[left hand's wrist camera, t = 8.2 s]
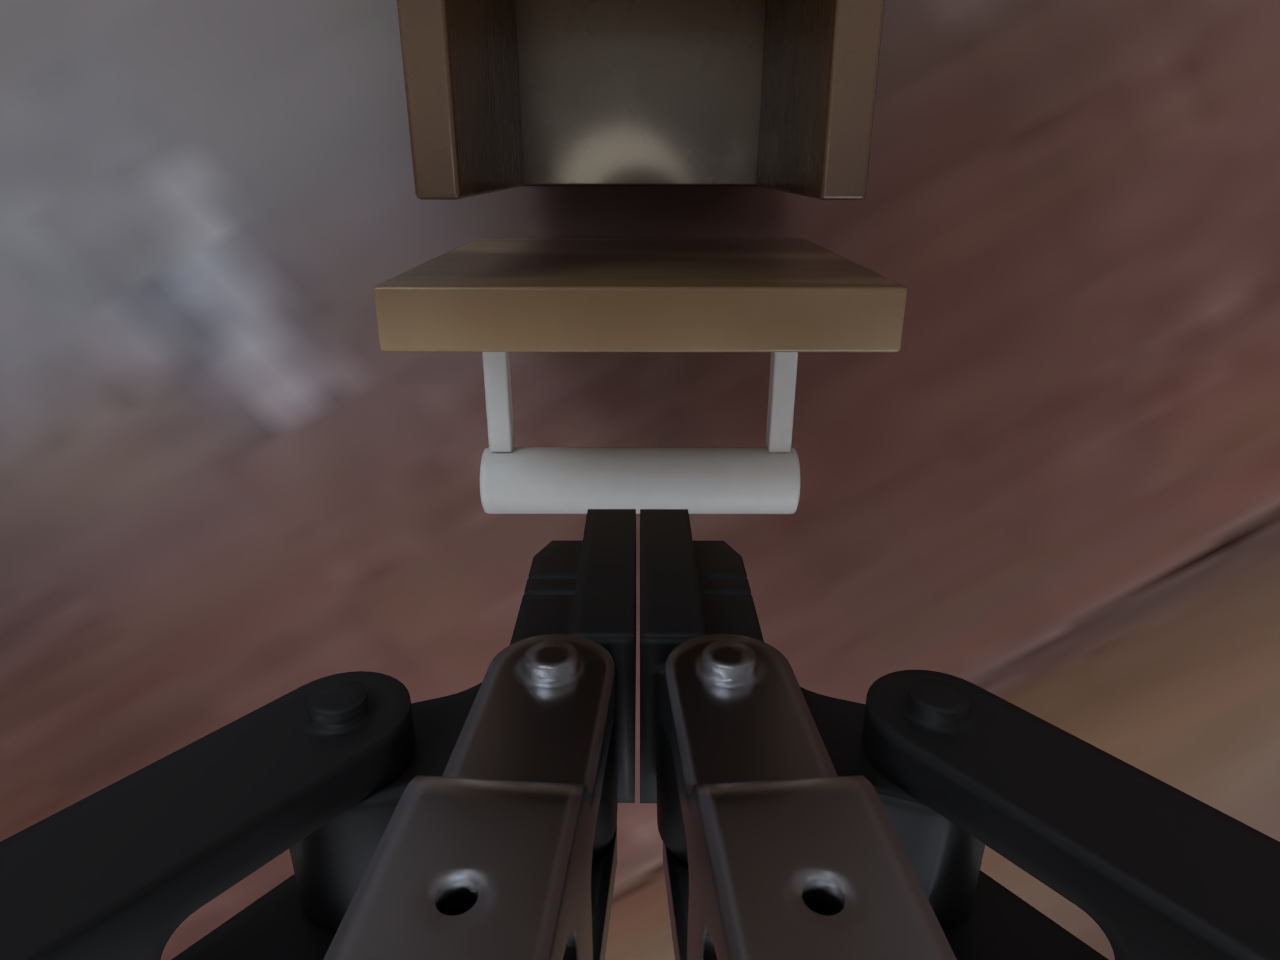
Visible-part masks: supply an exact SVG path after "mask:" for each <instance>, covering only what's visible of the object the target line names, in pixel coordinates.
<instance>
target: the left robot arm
mask: <svg viewBox="0 0 1280 960" xmlns="http://www.w3.org/2000/svg"><path fill="white" fill-rule="evenodd" d="M635 695H636V509H588V511H587V518H586V524H585V531H584V537H583V541H551V542H550V543H549V544H548V545H547V546H546V547H545V548H543V549H542V550H541V551H540V552H539V553H538V554H536V555H535V556H534V558H533V562H532V565H531V569H530V573H529V579H528V580H527V584H526V588H525V594H524V595H523V599H522V602H521V606H520V610H519V613H518V617H517V621H516V625H515V628H514V632H513V636H512V639H511V643H510V646H508V647H506V648H505V649H503V650H502V651H501V652H500V653H498V654H497V655H496V657H495V658H494V659H493V660H492V662H491V664H490V665H489V668H488V670H487V672H486V675H485V677H484V679H483V682H482V683H480V684H478V685H476V686H474V687H472V688H470V689H468V690H465V691H462V692H460V693H457V694H453V695H449V696H445V697H441V698H436V699H431V700H427V701H422V702H417V703H412V704H411V701H410V695H409V692H408V690H407V688H406V687H405V686H404V685H403V684H402V683H401V682H400V681H398V680H397V679H395V678H393V677H391V676H388V675H385V674H381V673H375V672H361V671H359V672H346V673H340V674H335V675H331V676H327V677H324V678H321V679H318V680H315V681H312V682H310V683H308V684H306V685H304V686H302V687H300V688H298V689H296V690H294V691H292V692H290V693H288V694H286V695H284V696H282V697H280V698H278V699H276V700H274V701H272V702H271V703H269V704H267V705H265V706H263V707H261V708H259V709H257V710H255V711H253V712H251V713H249V714H247V715H245V716H243V717H241V718H240V719H238V720H236V721H234V722H232V723H230V724H228V725H226V726H224V727H222V728H220V729H218V730H216V731H214V732H212V733H211V734H209V735H207V736H205V737H203V738H201V739H199V740H197V741H195V742H193V743H191V744H189V745H187V746H185V747H183V748H181V749H180V750H178V751H176V752H174V753H172V754H170V755H168V756H166V757H164V758H162V759H160V760H158V761H156V762H154V763H152V764H150V765H149V766H147V767H145V768H143V769H141V770H139V771H137V772H135V773H133V774H131V775H129V776H127V777H125V778H123V779H121V780H120V781H118V782H116V783H114V784H112V785H110V786H108V787H106V788H104V789H102V790H100V791H98V792H96V793H94V794H92V795H90V796H89V797H87V798H85V799H83V800H81V801H79V802H77V803H75V804H73V805H71V806H69V807H67V808H65V809H63V810H61V811H59V812H58V813H56V814H54V815H52V816H50V817H48V818H46V819H44V820H42V821H40V822H38V823H36V824H34V825H32V826H30V827H29V828H27V829H25V830H23V831H21V832H19V833H17V834H15V835H13V836H11V837H9V838H7V839H5V840H3V841H1V842H0V960H160V959H161V955H162V952H163V950H164V947H165V945H166V943H167V941H168V940H169V938H170V936H171V935H172V934H173V932H174V931H175V930H176V928H177V927H178V926H179V925H180V924H181V923H182V922H183V921H184V920H185V919H186V918H187V917H188V916H189V915H191V914H192V913H193V912H195V911H196V910H197V909H199V908H200V907H202V906H203V905H205V904H206V903H208V902H209V901H211V900H212V899H214V898H215V897H217V896H218V895H220V894H221V893H223V892H224V891H226V890H227V889H229V888H230V887H232V886H233V885H235V884H236V883H238V882H239V881H241V880H242V879H244V878H245V877H247V876H248V875H250V874H251V873H253V872H254V871H256V870H257V869H259V868H260V867H262V866H263V865H265V864H266V863H268V862H269V861H271V860H272V859H274V858H275V857H277V856H278V855H280V854H281V853H283V852H284V851H286V850H287V849H290V854H291V859H292V863H293V868H294V873H295V874H294V875H292V876H291V877H289V878H288V879H287V880H285V881H284V882H282V883H281V884H279V885H278V886H277V887H275V888H274V889H272V890H271V891H269V892H268V893H266V894H265V895H264V896H262V897H261V898H259V899H258V900H256V901H255V902H254V903H252V904H251V905H249V906H248V907H246V908H245V909H244V910H242V911H241V912H239V913H238V914H236V915H235V916H233V917H232V918H231V919H229V920H228V921H226V922H225V923H223V924H222V925H221V926H219V927H218V928H216V929H215V930H213V931H212V932H211V933H209V934H208V935H206V936H205V937H203V938H202V939H200V940H199V941H198V942H196V943H195V944H193V945H192V946H190V947H189V948H188V949H186V950H185V951H183V952H182V953H180V954H179V955H177V956H176V957H175V958H173V959H172V960H605V954H606V946H607V938H608V930H609V922H610V914H611V906H612V898H613V890H614V882H615V874H616V866H617V803H635ZM640 803H657V822H658V830H659V833H660V836H661V838H662V840H663V866H664V874H665V882H666V890H667V898H668V906H669V914H670V922H671V930H672V938H673V946H674V954H675V960H1108V959H1107V958H1105V957H1104V956H1102V955H1101V954H1100V953H1098V952H1097V951H1095V950H1094V949H1092V948H1091V947H1090V946H1088V945H1087V944H1085V943H1084V942H1082V941H1081V940H1080V939H1078V938H1077V937H1075V936H1074V935H1072V934H1071V933H1069V932H1068V931H1067V930H1065V929H1064V928H1062V927H1061V926H1059V925H1058V924H1057V923H1055V922H1054V921H1052V920H1051V919H1049V918H1048V917H1046V916H1045V915H1044V914H1042V913H1041V912H1039V911H1038V910H1036V909H1035V908H1034V907H1032V906H1031V905H1029V904H1028V903H1026V902H1025V901H1024V900H1022V899H1021V898H1019V897H1018V896H1016V895H1015V894H1013V893H1012V892H1011V891H1009V890H1008V889H1006V888H1005V887H1003V886H1002V885H1001V884H999V883H998V882H996V881H995V880H993V879H992V878H991V877H989V876H988V875H986V874H985V873H983V872H982V871H980V867H981V862H982V857H983V852H984V847H985V845H987V846H988V847H990V848H991V849H993V850H994V851H996V852H997V853H999V854H1000V855H1002V856H1003V857H1005V858H1006V859H1008V860H1009V861H1011V862H1012V863H1014V864H1015V865H1017V866H1018V867H1020V868H1021V869H1023V870H1024V871H1026V872H1027V873H1029V874H1030V875H1032V876H1033V877H1035V878H1036V879H1038V880H1039V881H1041V882H1042V883H1044V884H1045V885H1047V886H1048V887H1050V888H1051V889H1053V890H1054V891H1056V892H1057V893H1059V894H1060V895H1062V896H1063V897H1065V898H1066V899H1068V900H1069V901H1071V902H1072V903H1074V904H1075V905H1077V906H1078V907H1079V908H1081V909H1082V910H1083V911H1085V912H1086V913H1087V914H1088V915H1089V916H1090V917H1091V918H1093V920H1094V921H1095V922H1096V923H1097V924H1098V925H1099V926H1100V928H1101V929H1102V930H1103V932H1104V933H1105V935H1106V936H1107V938H1108V940H1109V942H1110V944H1111V946H1112V949H1113V952H1114V956H1115V960H1280V842H1279V841H1277V840H1275V839H1273V838H1271V837H1269V836H1267V835H1265V834H1263V833H1261V832H1259V831H1257V830H1255V829H1253V828H1251V827H1250V826H1248V825H1246V824H1244V823H1242V822H1240V821H1238V820H1236V819H1234V818H1232V817H1230V816H1228V815H1226V814H1224V813H1222V812H1220V811H1219V810H1217V809H1215V808H1213V807H1211V806H1209V805H1207V804H1205V803H1203V802H1201V801H1199V800H1197V799H1195V798H1193V797H1191V796H1189V795H1188V794H1186V793H1184V792H1182V791H1180V790H1178V789H1176V788H1174V787H1172V786H1170V785H1168V784H1166V783H1164V782H1162V781H1160V780H1159V779H1157V778H1155V777H1153V776H1151V775H1149V774H1147V773H1145V772H1143V771H1141V770H1139V769H1137V768H1135V767H1133V766H1131V765H1129V764H1128V763H1126V762H1124V761H1122V760H1120V759H1118V758H1116V757H1114V756H1112V755H1110V754H1108V753H1106V752H1104V751H1102V750H1100V749H1098V748H1097V747H1095V746H1093V745H1091V744H1089V743H1087V742H1085V741H1083V740H1081V739H1079V738H1077V737H1075V736H1073V735H1071V734H1069V733H1068V732H1066V731H1064V730H1062V729H1060V728H1058V727H1056V726H1054V725H1052V724H1050V723H1048V722H1046V721H1044V720H1042V719H1040V718H1038V717H1037V716H1035V715H1033V714H1031V713H1029V712H1027V711H1025V710H1023V709H1021V708H1019V707H1017V706H1015V705H1013V704H1011V703H1009V702H1007V701H1006V700H1004V699H1002V698H1000V697H998V696H996V695H994V694H992V693H990V692H988V691H986V690H984V689H982V688H980V687H978V686H977V685H975V684H972V683H970V682H968V681H966V680H964V679H961V678H958V677H955V676H952V675H948V674H944V673H941V672H934V671H927V670H904V671H897V672H894V673H890V674H887V675H885V676H883V677H881V678H879V679H878V680H876V681H875V682H874V683H873V684H872V685H871V687H870V688H869V691H868V693H867V699H866V705H865V704H860V703H856V702H851V701H846V700H841V699H837V698H832V697H828V696H824V695H820V694H817V693H814V692H811V691H808V690H806V689H804V688H801V687H800V686H799V684H798V682H797V679H796V677H795V675H794V672H793V670H792V668H791V665H790V664H789V662H788V660H787V659H786V658H785V657H784V655H783V654H782V653H780V652H779V651H778V650H777V649H775V648H774V647H772V646H770V645H769V644H767V643H764V641H763V637H762V633H761V629H760V625H759V621H758V617H757V614H756V610H755V606H754V602H753V598H752V595H751V590H750V587H749V583H748V580H747V575H746V571H745V567H744V563H743V559H742V557H741V556H740V555H739V554H738V553H737V552H736V551H734V550H733V549H732V548H731V547H730V546H729V545H728V544H727V543H725V542H724V541H692V534H691V527H690V520H689V513H688V509H640Z"/></svg>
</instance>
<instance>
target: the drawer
mask: <svg viewBox="0 0 1280 960" xmlns="http://www.w3.org/2000/svg"><path fill="white" fill-rule="evenodd" d="M884 1H885V0H397V7H398V17H399V27H400V38H401V48H402V58H403V69H404V79H405V90H406V100H407V110H408V121H409V131H410V141H411V152H412V162H413V172H414V183H415V193H416V196H417V198H419V199H461V198H466V197H471V196H476V195H480V194H485V193H490V192H495V191H500V190H505V189H510V188H515V187H519V186H760V187H764V188H769V189H774V190H779V191H784V192H788V193H793V194H798V195H803V196H808V197H812V198H817V199H822V200H861V199H864V197H865V194H866V184H867V174H868V164H869V153H870V143H871V133H872V123H873V113H874V103H875V93H876V82H877V72H878V62H879V52H880V42H881V32H882V22H883V11H884ZM373 293H374V301H375V310H376V318H377V326H378V335H379V343H380V349H381V351H383V352H482V356H483V370H484V384H485V398H486V412H487V425H488V439H489V447H488V448H486V449H485V450H484V452H483V455H482V459H481V466H480V495H481V502H482V506H483V509H484V511H485V512H486V513H488V514H587V511H588V509H636V514H640V509H688V513H689V514H793V513H795V511H796V509H797V507H798V503H799V497H800V465H799V459H798V455H797V452H796V450H795V449H794V448H791V442H792V429H793V415H794V402H795V389H796V375H797V362H798V352H898V351H899V350H900V348H901V339H902V331H903V323H904V315H905V307H906V298H907V287H905V286H903V285H901V284H898V283H896V282H894V281H892V280H890V279H888V278H886V277H884V276H882V275H879V274H877V273H875V272H873V271H871V270H869V269H867V268H865V267H862V266H860V265H858V264H856V263H854V262H852V261H850V260H848V259H845V258H843V257H841V256H839V255H837V254H835V253H833V252H831V251H828V250H826V249H824V248H822V247H820V246H818V245H816V244H814V243H811V242H809V241H807V240H805V239H769V238H477V239H475V240H473V241H471V242H468V243H466V244H464V245H462V246H460V247H458V248H456V249H453V250H451V251H449V252H447V253H445V254H443V255H441V256H439V257H436V258H434V259H432V260H430V261H428V262H426V263H424V264H422V265H419V266H417V267H415V268H413V269H411V270H409V271H407V272H405V273H402V274H400V275H398V276H396V277H394V278H392V279H390V280H388V281H385V282H383V283H381V284H379V285H377V286H375V287H374V288H373ZM509 352H771V364H770V380H769V396H768V412H767V428H766V447H767V448H567V447H514V444H515V441H514V424H513V408H512V391H511V374H510V358H509Z"/></svg>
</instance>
